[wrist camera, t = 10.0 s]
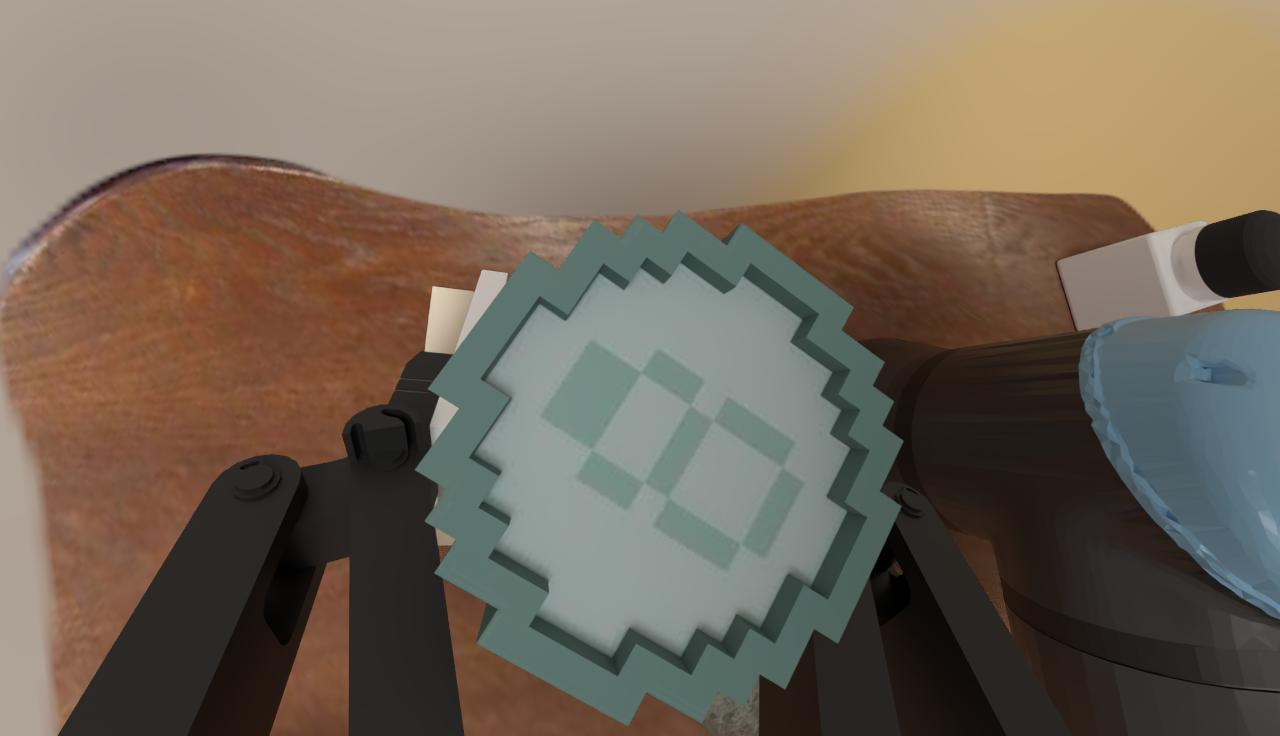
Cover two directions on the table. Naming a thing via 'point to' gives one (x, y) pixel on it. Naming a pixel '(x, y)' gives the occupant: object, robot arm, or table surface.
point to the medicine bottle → (1174, 270)
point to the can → (662, 467)
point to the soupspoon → (733, 716)
